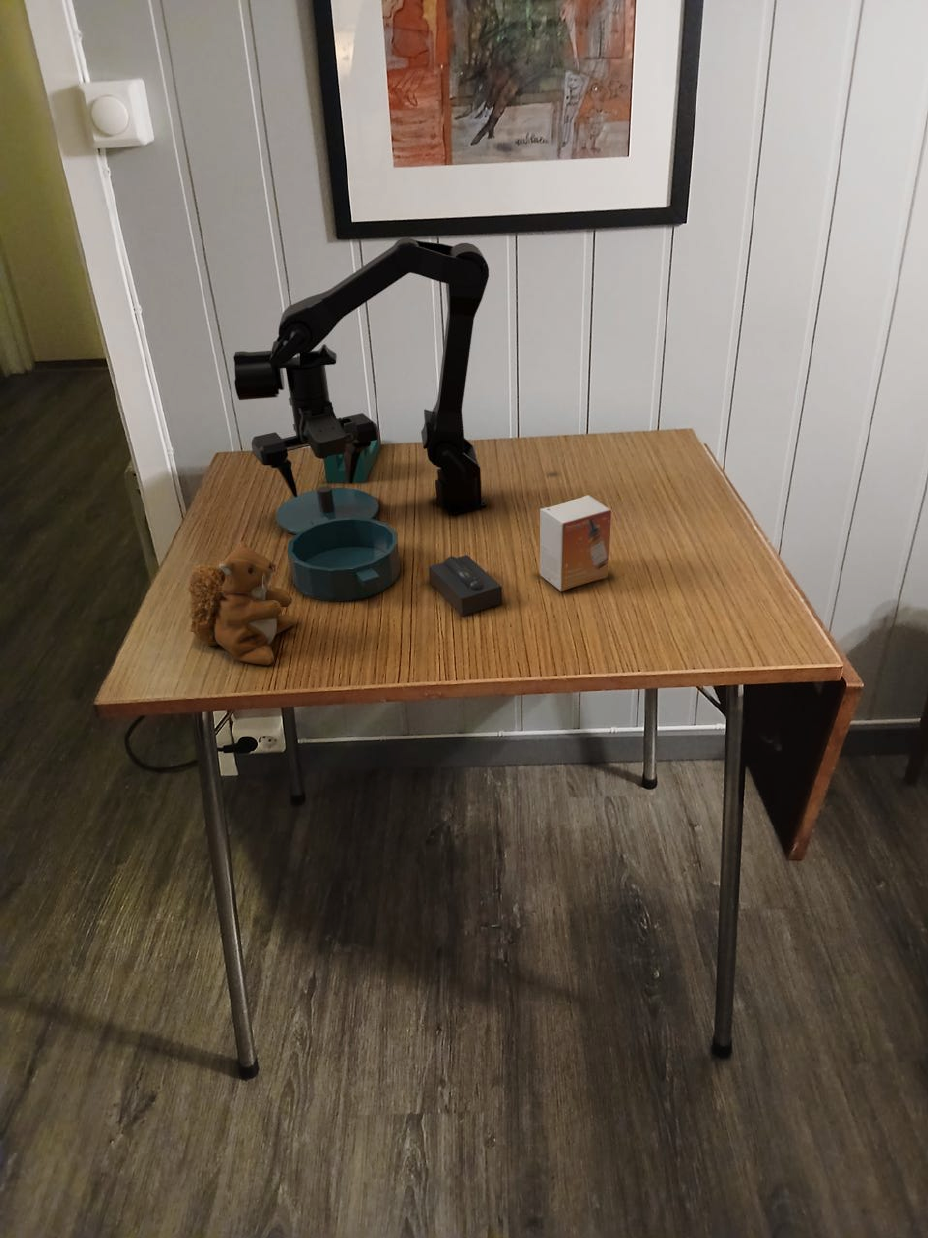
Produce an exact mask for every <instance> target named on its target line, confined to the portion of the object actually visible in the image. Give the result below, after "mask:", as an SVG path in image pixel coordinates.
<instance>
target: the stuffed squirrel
mask: <svg viewBox="0 0 928 1238" xmlns="http://www.w3.org/2000/svg"><path fill="white" fill-rule="evenodd" d="M277 567H278V566H277V565H276V564H275V563H274V562H272V561H271V560H270V559H268V558H267V557H265V556H264V555H262V554H260V553H259V552H257V551H255V550H253V549H251V548H250V547H248V545H247V543H246V541H245V542H244V541H239V542H238V543H237V546H236V548H234V549H233V550H232V551H231V553H229V555H228V556H227V557H226V558H225V560H223V561H220V562H219V563H218V567H216V566H213V565H212V566H209V565H208V564H203V565H202V564H198V565H196V566H195V569H194V570H193V571H191V576H190V578H189V586H188V591H189V593H190V599H191V600H190V601H189V603H190V605H189V609H190V612H189V613H188V615H190V618H191V624H190V629H189V630H188V631H189V632H191V633H193V634H194V636H196V637H197V638H198V640H199V641H200V643H202V644H205V645H206V646H212V647H215V646H218V645H219V646H220V647H221V648H223V650H225V651H227V652H228V654H230V655H232V657H233V658H234V659H236V660H237V661H240V662H243V663H246V664H247V663H248V664H253V665H263V666H269V665H271V664H272V663H273V662H274V660H275V656H274V655H275V654H274V652H273V649H272V647H271V646H270V645H271V643H272V642H273V641H274V638H275V637H276V635H278V634H280V633H282V632H284V631H286V630H288V629H289V628H292V627H293V626H294V624H295V621H294V618H293V616H291V615H287V614H282V612H283V608H289V606H290V605H292V603H293V598H292V596H291V594H290V593H289V592H288V591H287V590H285V589H283V588H280V587H279V588H278V587H275V586H270V585H268V584H269V583H270V582H271V580H272V579H273V576H274V573H275V572H276V570H277V569H276V568H277ZM281 614H282V615H281Z"/></svg>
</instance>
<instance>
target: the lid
mask: <svg viewBox="0 0 928 1238" xmlns="http://www.w3.org/2000/svg"><path fill="white" fill-rule="evenodd" d="M378 513H379V502H378V500H377V498H376V497H374V496H373V495H372V494H370V493H368V492H366V491H363V490H360V489H356V488H350V487H332V486H329V485H323V486H319V487H318V488H316V489H315V490H310V491H306V492H302V493H300V494H297V497H294V496H293V497H291V498H289V499H287V500H286V501H284V502H283V503H282V504H281V505H280V506H279V507H278V508H277V509H276V511H275V520H276V524H277V525H278V526H279V527H280V528H281V529H282V530H284V531H286V532H288V533H291V534H293V535H296V534H297V533H298V532H299V531H301V530H303V529H305V528H307V527H309V526H311V525H312V523H311V521H312V520H315V519H319V518H323V517H327V518H328V520H332V519H338V518H351V517H357V518H366V519H375V518H376V516H377V515H378Z"/></svg>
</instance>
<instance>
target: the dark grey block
mask: <svg viewBox="0 0 928 1238" xmlns="http://www.w3.org/2000/svg"><path fill="white" fill-rule="evenodd" d="M428 570H429V583H430V585H431V586H432V587H433V588H434V589H435V590H436V591H437V592H438V593H439V594H440V595H441V596H442V597H443V598H444V599H445V600H446V601H447V602H448V603H449V604H450V605H451V606H452V607H453V608H454V609H455V610H456V611H457V612H458V613H459V615H461V616H462V617H466V616H469V615H471V614H475V613H478V612H481V611H483V610H487V609H490V608H494V607H497V606H500V605H502V604H503V587H502V585H501V584H500V583H499V582H498V581H497V580H495V579H494V578H493V577H492V576H491V575H490V574H489V573H488V572H487V571H485V570H484V569H483V568H482V567H481V566H480V565H479V564H478V563H477V562H476V561H475V560H473V559H472V558H471V557H470V556H469V555H468V554H466V555H463V556H458V557H455V556H448V557H446V559H444V561H442V562H439V563H435V564H431V565H429V566H428Z"/></svg>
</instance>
